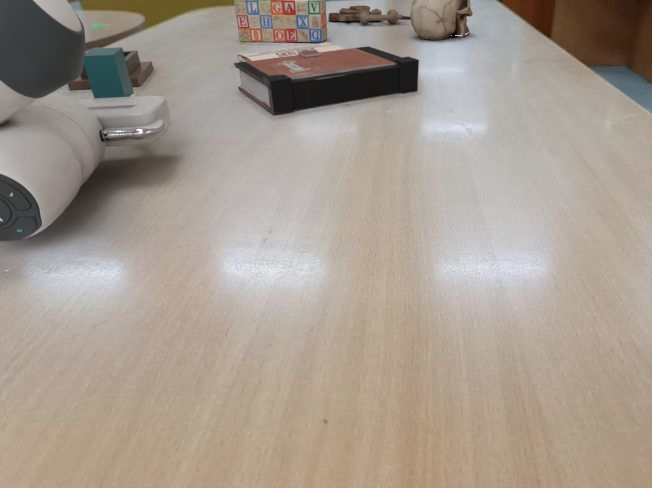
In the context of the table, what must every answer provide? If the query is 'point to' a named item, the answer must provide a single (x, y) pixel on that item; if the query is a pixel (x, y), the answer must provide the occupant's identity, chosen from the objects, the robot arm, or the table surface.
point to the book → (326, 78)
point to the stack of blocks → (281, 20)
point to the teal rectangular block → (108, 72)
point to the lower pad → (135, 69)
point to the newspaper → (286, 51)
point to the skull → (440, 18)
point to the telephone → (366, 15)
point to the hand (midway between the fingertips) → (93, 102)
